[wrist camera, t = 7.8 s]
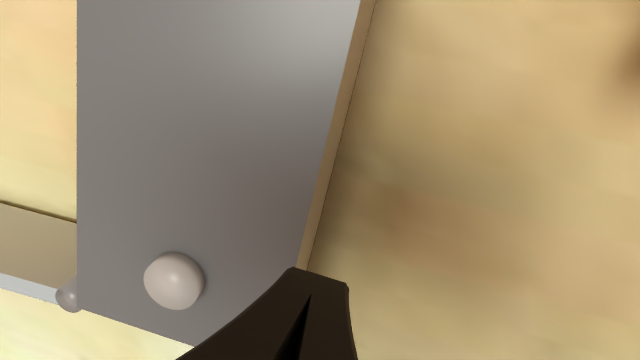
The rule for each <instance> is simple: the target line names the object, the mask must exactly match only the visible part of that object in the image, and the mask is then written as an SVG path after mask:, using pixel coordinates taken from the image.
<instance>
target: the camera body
mask: <svg viewBox="0 0 640 360" xmlns="http://www.w3.org/2000/svg"><path fill="white" fill-rule="evenodd" d="M375 2H376V0H77V308H80V309H83V310H86V311H89V312H92V313H95V314H98V315H101V316H104V317H107V318H110V319H113V320H116V321H119V322H122V323H125V324H128V325H131V326H134V327H137V328H140V329H143V330H146V331H149V332H152V333H155V334H158V335H161V336H164V337H167V338H170V339H173V340H176V341H179V342H182V343H185V344H188V345H191V346H194V347H196V346H197V345H199V344H200V343H202V342H203V341H205V340H206V339H207V338H209V337H210V336H211V335H213V334H214V333H215V332H217V331H218V330H219V329H221V328H222V327H223V326H225V325H226V324H228V323H229V322H230V321H232V320H233V319H234V318H235V317H237V316H238V315H239V314H240V313H241V312H243V311H244V310H245V309H246V308H247V307H248V306H250V305H251V304H252V303H253V302H254V301H256V300H257V299H258V298H259V297H260V296H261V295H262V294H263V293H264V292H265V291H267V290H268V289H269V288H270V287H271V286H272V285H273V284H274V283H275V282H276V281H277V280H278V279H279V278H280V276H281V275H282V274H283V273H284V272H285V271H286V270H287V269H288V268H291V267H296V268H299V269H302V270H306V271H307V267H308V263H309V259H310V255H311V252H312V248H313V244H314V240H315V236H316V232H317V228H318V224H319V220H320V216H321V213H322V209H323V205H324V201H325V197H326V193H327V189H328V185H329V181H330V178H331V174H332V170H333V166H334V162H335V158H336V154H337V150H338V146H339V142H340V139H341V135H342V131H343V127H344V123H345V119H346V115H347V111H348V107H349V103H350V100H351V96H352V92H353V88H354V84H355V80H356V76H357V72H358V68H359V65H360V61H361V57H362V53H363V49H364V45H365V41H366V37H367V33H368V29H369V26H370V22H371V18H372V14H373V10H374V6H375Z"/></svg>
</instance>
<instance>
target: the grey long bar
mask: <svg viewBox="0 0 640 360" xmlns="http://www.w3.org/2000/svg"><path fill="white" fill-rule="evenodd" d="M0 288H2V289H5V290H9V291H12V292H16V293H19V294H23V295H26V296H29V297H33V298H36V299H40V300H43V301H47V302H50V303H53V304H57V305H60V306H61V307H62V308H63V309H64V310H66V311H68V312H72V313H75V312H79V311H80V310H81V309H80V308H77V223H73V222H69V221H65V220H62V219H58V218H54V217H51V216H47V215H43V214H39V213H36V212H32V211H28V210H24V209H21V208H17V207H13V206H9V205H6V204H2V203H0Z"/></svg>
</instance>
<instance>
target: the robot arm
mask: <svg viewBox="0 0 640 360" xmlns="http://www.w3.org/2000/svg"><path fill="white" fill-rule="evenodd" d="M176 360H358V358H357V353H356V348H355V343H354V339H353V333H352V327H351V319H350V311H349V288H348V286H347V284H346V283H344V282H341V281H338V280H335V279H331V278H328V277H325V276H322V275H318V274H315V273H312V272H309V271H306V270H302V269H299V268H296V267H291V268H288V269H287V270H286V271H285V272H284V273H283V274H282V275H281V276H280V278H279V279H278V280H277V281H276V282H275V283H274V284H273V285H272V286H271V287H270V288H269V289H268V290H267V291H265V292H264V293H263V294H262V295H261V296H260V297H259V298H258V299H257V300H256V301H254V302H253V303H252V304H251V305H250V306H248V307H247V308H246V309H245V310H244V311H243V312H241V313H240V314H239V315H238V316H237V317H235V318H234V319H233V320H232V321H230V322H229V323H228V324H226V325H225V326H223V327H222V328H221V329H219V330H218V331H217V332H215V333H214V334H213V335H211V336H210V337H209V338H207V339H206V340H205V341H203V342H202V343H200V344H199V345H197V346H196V347H194V348H193V349H191V350H190V351H188V352H187V353H185V354H184V355H182V356H180V357H179V358H177V359H176Z"/></svg>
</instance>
